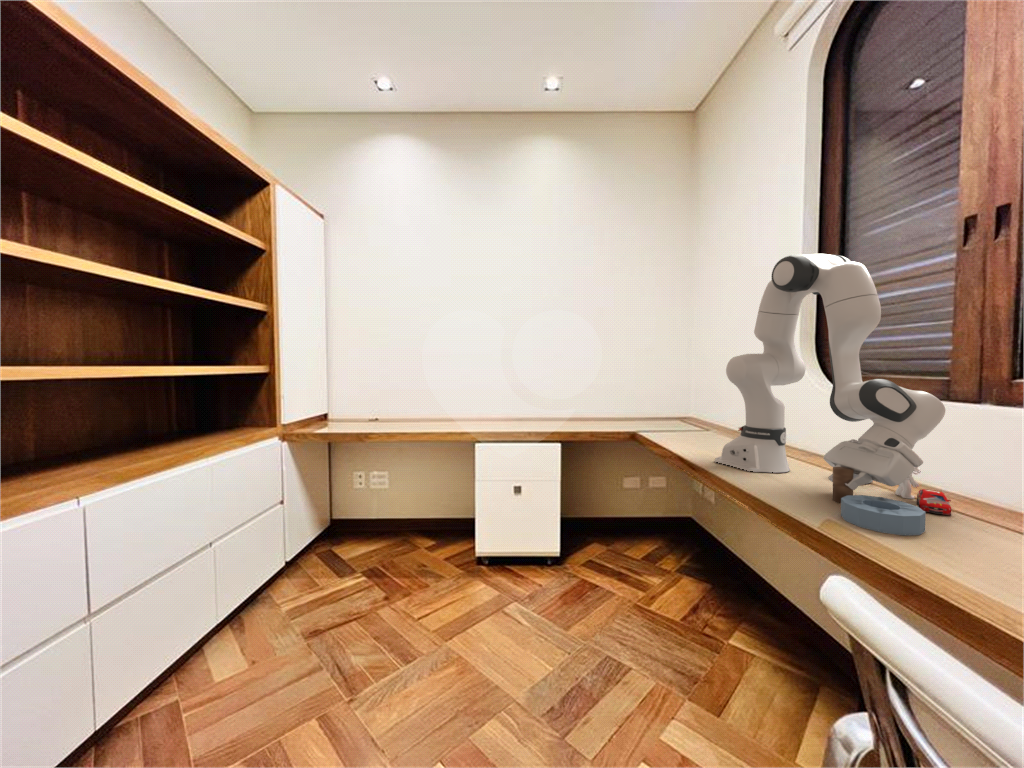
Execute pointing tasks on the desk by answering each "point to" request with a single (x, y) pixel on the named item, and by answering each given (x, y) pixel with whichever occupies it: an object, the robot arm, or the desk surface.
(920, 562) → the desk surface
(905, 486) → the white figurine
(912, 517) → the bead
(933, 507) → the race car
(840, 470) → the dowel
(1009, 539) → the desk surface
